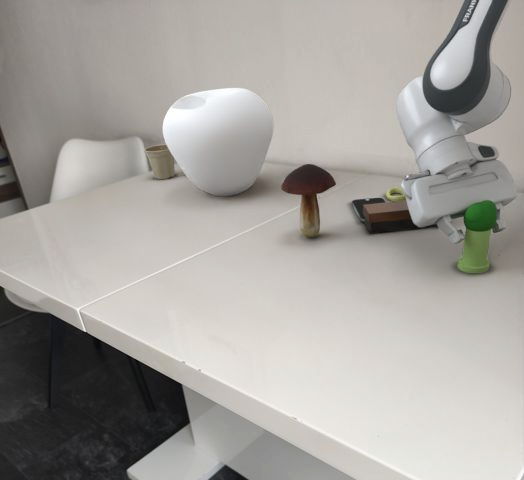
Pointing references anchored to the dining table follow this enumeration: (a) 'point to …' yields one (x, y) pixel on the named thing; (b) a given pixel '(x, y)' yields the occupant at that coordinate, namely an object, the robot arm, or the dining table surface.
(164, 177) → the flower pot
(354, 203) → the smartphone
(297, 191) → the decorative mushroom
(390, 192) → the key
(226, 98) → the vase
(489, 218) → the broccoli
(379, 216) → the brush
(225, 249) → the dining table surface
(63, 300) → the dining table surface
